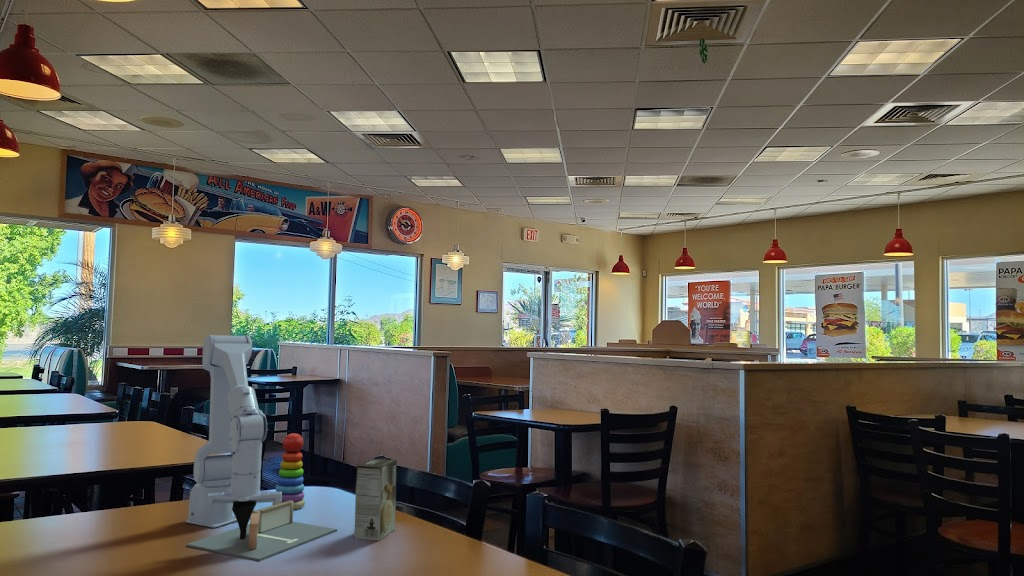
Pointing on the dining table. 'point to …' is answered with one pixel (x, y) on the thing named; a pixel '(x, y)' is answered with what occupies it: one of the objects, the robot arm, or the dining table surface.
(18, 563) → the dining table surface
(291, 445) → the stacking toy
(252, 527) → the hinged fence panel
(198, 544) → the mat
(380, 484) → the coffee box
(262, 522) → the fence fixed
